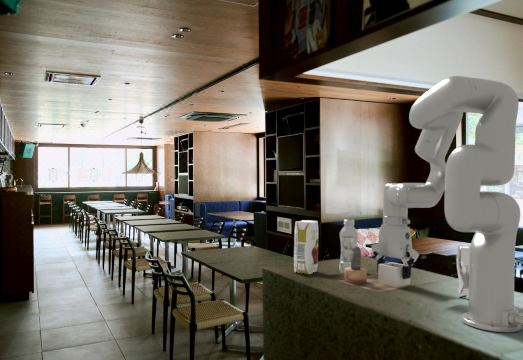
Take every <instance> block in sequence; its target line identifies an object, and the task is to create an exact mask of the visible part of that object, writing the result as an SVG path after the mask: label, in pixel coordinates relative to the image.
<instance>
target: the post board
mask: <svg viewBox="0 0 523 360" xmlns="http://www.w3.org/2000/svg"><path fill="white" fill-rule="evenodd" d="M361 254H362V249H361V247H359V246H358V245H356V246H354V247H352V249H351V267H347V268H345V273H344V278H343V279H339V280H337V282H339V283H343V284H346V285H351V286H354V287H358V288H360V289H364V290H365V289H366V290H369V291H371V292H376V293H382V292H387V291H392V290H397V289H401V288H402V289H403V288H408V287H412V286H415V284H413V283H410V285H407V286H402V287H392V286H388V285H384V284H380V283H378V275H373V274H370V275H368V274H367V273H368V270H367V269H366V268H364V267H361V266H362V265H361V262H362V259H361V256H362V255H361Z"/></svg>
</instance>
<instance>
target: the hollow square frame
mask: <svg viewBox="0 0 523 360" xmlns="http://www.w3.org/2000/svg"><path fill="white" fill-rule="evenodd" d="M403 266H405V265H404V263H403V264H402V263H398V262H392V261H391V262H385V263H384V264H378V273H377V276H378V283H380V284H384V285H388V286H392V287H402V286H407V285H410V284H411V277H410V278H408V279H403V278H402V275H403Z"/></svg>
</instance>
